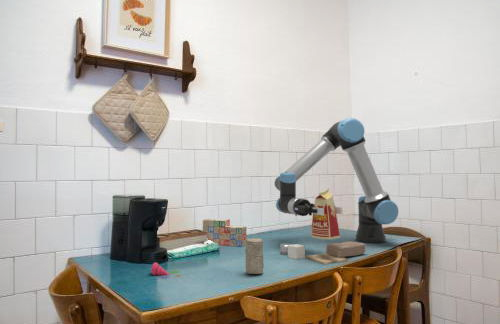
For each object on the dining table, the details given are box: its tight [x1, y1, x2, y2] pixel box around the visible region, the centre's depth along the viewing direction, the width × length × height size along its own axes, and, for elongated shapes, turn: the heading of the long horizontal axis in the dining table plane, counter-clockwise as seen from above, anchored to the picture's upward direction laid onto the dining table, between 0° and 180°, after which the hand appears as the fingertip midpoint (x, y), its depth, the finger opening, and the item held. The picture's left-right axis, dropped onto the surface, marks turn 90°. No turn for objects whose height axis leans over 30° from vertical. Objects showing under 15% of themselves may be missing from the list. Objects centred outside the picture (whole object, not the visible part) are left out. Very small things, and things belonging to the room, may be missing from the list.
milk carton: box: [310, 188, 341, 240], centre depth 154 cm, size 9×9×20 cm
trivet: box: [304, 252, 349, 265], centre depth 153 cm, size 12×12×1 cm
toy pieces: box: [150, 262, 182, 280], centre depth 131 cm, size 12×11×4 cm
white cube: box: [287, 243, 306, 260], centre depth 157 cm, size 5×5×5 cm
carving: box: [244, 237, 265, 275], centre depth 132 cm, size 6×8×12 cm
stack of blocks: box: [202, 218, 247, 248], centre depth 187 cm, size 21×6×12 cm, turn 68°
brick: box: [325, 241, 366, 258], centre depth 161 cm, size 17×8×5 cm, turn 126°
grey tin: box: [279, 243, 292, 256], centre depth 165 cm, size 5×5×4 cm
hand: (332, 211), depth 150 cm, fingers closed on milk carton, 8 cm apart
